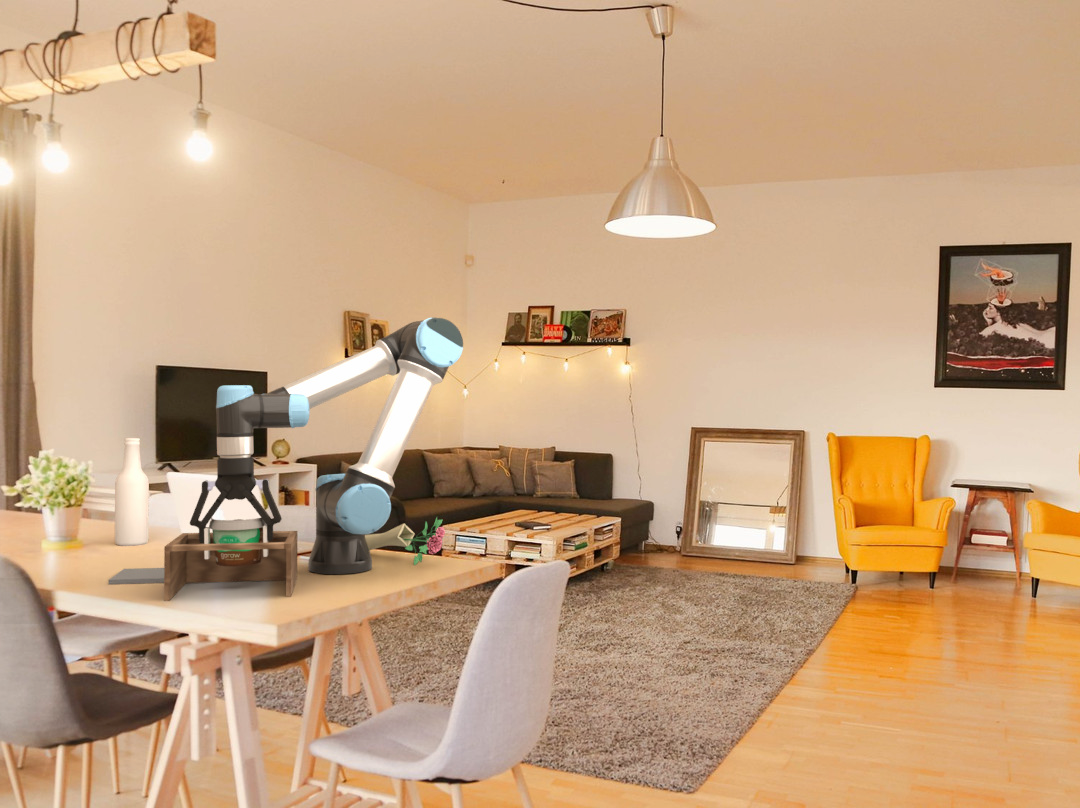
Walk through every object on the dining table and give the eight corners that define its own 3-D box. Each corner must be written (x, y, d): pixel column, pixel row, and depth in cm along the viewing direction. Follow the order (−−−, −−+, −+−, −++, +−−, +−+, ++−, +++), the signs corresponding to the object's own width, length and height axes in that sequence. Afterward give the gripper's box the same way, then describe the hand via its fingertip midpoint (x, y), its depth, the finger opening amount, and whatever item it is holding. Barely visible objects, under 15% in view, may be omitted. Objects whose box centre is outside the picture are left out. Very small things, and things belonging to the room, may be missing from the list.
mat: (186, 571, 224) (186, 567, 224) (175, 582, 210) (175, 577, 210) (124, 573, 221) (124, 568, 221) (108, 584, 207) (108, 579, 207)
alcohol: (123, 541, 271) (123, 437, 271) (153, 541, 271) (154, 437, 271) (109, 546, 262) (109, 438, 262) (140, 546, 262) (141, 438, 262)
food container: (203, 568, 199) (203, 521, 199) (209, 563, 205) (209, 517, 205) (263, 566, 201) (262, 519, 201) (267, 561, 207) (267, 516, 207)
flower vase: (372, 580, 253) (465, 565, 232) (336, 572, 245) (429, 556, 224) (376, 537, 258) (468, 519, 237) (341, 528, 249) (433, 508, 228)
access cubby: (297, 578, 215) (297, 530, 215) (291, 596, 195) (291, 543, 195) (182, 582, 210) (182, 533, 210) (164, 600, 191) (164, 546, 190)
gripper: (293, 454, 209) (294, 551, 209) (180, 456, 204) (182, 556, 204) (291, 456, 201) (292, 557, 201) (174, 458, 197) (175, 562, 197)
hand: (236, 557), depth 203 cm, fingers closed on food container, 11 cm apart
